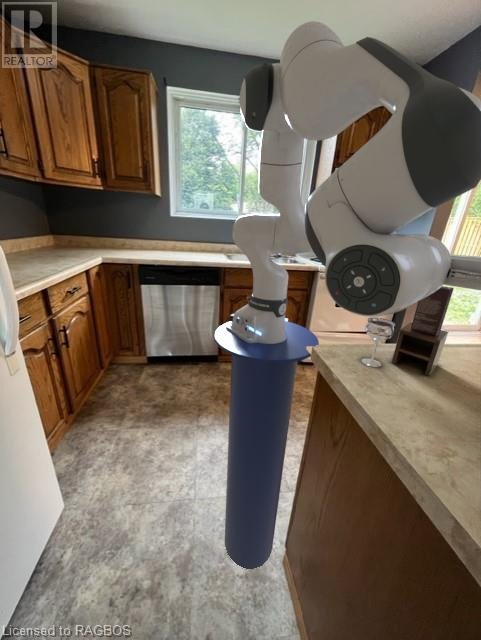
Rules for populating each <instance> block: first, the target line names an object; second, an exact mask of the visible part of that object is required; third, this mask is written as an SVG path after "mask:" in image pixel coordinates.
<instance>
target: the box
mask: <svg viewBox="0 0 481 640" xmlns="http://www.w3.org/2000/svg"><path fill="white" fill-rule="evenodd" d="M453 292H454V287H453V286H446V285H443V286H442V287H441V288H440V289H438V290H437V291H436V292H434V293H432V294H431V295H429V296H427V297H425V298H424V299H422V300H420V301H418V302H417V305H416V307H415V311H414V315H413V319H412V321H411V323H412V325H411V329H413V330H417V331H421V332H425V333H428V334H432V335H435V336H437V335H438V334H439V333H440V331H441V330H442V328H443V323H444V321H445V318H446V314H447V312H448V309H449V305H450V301H451V298H452V295H453Z"/></svg>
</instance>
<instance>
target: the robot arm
mask: <svg viewBox="0 0 481 640" xmlns="http://www.w3.org/2000/svg"><path fill="white" fill-rule="evenodd" d="M379 107H384V108H385V109H387V110H388V112H390V113H391V117H390V118H389V119H388V120H387V122H386V123H385V124H384V125H383V126H382V127H381V128H380V130H379V131H378V132H376V133H375V134H374V135H373V136H372V137H371V138H370V139H369V140H368V141H367V142H365V143H364V144H363V146H361V147H360V148H359V149H358V150H356V152H355V153H354V154H353V155H352V156H350V157H349V158H348V159H347V160H346V161H345V162H344V163H343V164H342V165H341V166H339V167H338V168H337V169H336V170H334V171H333V172H332V173H331V174H330V175H329V176H328V177H327V178H326V179H325V180H324V181H323V182H322V183H320V185H318V187H316V188H315V189H314V190H313V192H311V193H310V194H309V196H307V199H306V202H305V206H304V205H303V202H302V199H301V177H302V167H303V159H304V149H305V148H304V145H305V140H308V141H316V142H317V141H324V140H325V141H326V140H328V139H332V138H333V137H336V136H337V135H339V134H341V133H342V132H343V131H345V130H347V128H349V127H351V125H353V124H354V123H355V122H356V121H357V120H359V119H360V118H362V117H363V116H365V115H366V114H368V113H369V112H371V111H373V110H375V109H376V108H379ZM239 110H240V114H241V117H242V120H243V124H244V126H246V128H247V129H249V130H251V131H254V132H258V133H261V137H260V146H259V155H258V156H259V158H258V181H257V182H258V184H257V191H258V194H259V195H260V197H261V198H262V200H263V201H265V202H267V204H270V205H272V206H273V207H274V208H276V210H277V212H278V214H266V213H265V214H264V213H251V214H245V215H240V216H238V218H237V219H236V220H235V222H234V223H233V226H232V230H231V231H232V234H231V235H232V240H233V243H234V244H235V246H236V247H237V248H238V249H239V250H240V251H241V252H242V253H243V254H244V255H245V256H246V258H247V259H248V261H249V263H250V266H251V271H252V283H253V284H252V293H251V294H249V295H246V298H245V299H246V300H248V302H247V304H246V305H244V306H242V307H241V308H239V309H238V310H236V311H235V312H234V313H231V314H230V315H229V322H230V321H231V322H230V323H229V324H227V325H226V329H228V330H229V331H230V332H232V333H233V334H235V335H236V336H238V337H239V338H241V339H242V340H244V341H245V342H247V343H263V344H276V343H281V342H283V341H285V340H286V339H287V335H286V328H285V321H287V322H289V318H286V312H287V307H288V285H289V277H290V276H289V273H288V271H287V270H286V269H285V268H284V267H283V266H282V265H280V264H279V263H276V262H275V261H274V260H273V259H272V258H271V254H273V253H274V254H288V255H298V254H304V253H310V252H311V251H312V252H313V253H314V255H315V257H316V258H317V259H318V260H319V262H320V263H321V264H322V266H324V283H325V287H326V290H327V292H328V294H329V296H330V298H331V299H332V300H333V301H334V302H335V304H337V305H338V306H339V307H340V308H342V309H343V310H344V311H347V312H349V313H351V314H354V315H357V316H361V317H368V318H376V317H383V316H389V315H392V314H395V313H398V312H401V311H403V310H406V309H408V308H410V307H411V306H413V305H415V304H416V303H418V301H420V300H422V299H424V298H425V297H427V296H429V295H431V294H432V293H434V292H436V291H437V290H438V289H440V288H441V287H442V286H448V287H456V288H462V289H469V290H475V291H481V256H475V255H465V254H453V253H450V251H449V249H448V248H447V246H446V245H445V244H444V243H443V242H442V241H441V240H439V239H437V238H436V237H433V236H431V235H427V234H417V233H413V234H412V233H407V234H402V233H401V234H400V233H398V232H396V231H398V230H400V229H401V228H403V227H404V226H406V225H407V224H409V223H411V222H413V221H414V220H416V219H418V218H419V217H421V216H423V215H424V214H426V213H427V212H429V211H431V210H432V209H435V208H438V207H440V206H442V205H444V204H446V203H448V202H450V201H452V200H454V199H456V198H458V197H459V196H462V195H463V194H466V193H467V192H470V191H472V190H473V189H476V187H478V185H479V183H480V181H481V99H480V98H478V96H476V95H475V94H473V93H472V92H470V91H468V90H466V89H464V88H462V87H458V85H456V84H454V83H453V82H450V81H448V80H445V79H443V78H440V77H437V76H435V75H434V74H432V73H431V72H429V71H428V70H426V69H425V68H423V67H422V66H420V65H418V64H417V63H416V62H415V61H413V60H411V59H410V58H408V57H407V56H406V55H404V54H403V53H401V52H400V51H398V50H396V49H395V48H394V47H392V46H390V45H389V44H387V43H385V42H383V41H381V40H379V39H377V38H375V37H371V36H366V37H363V38H362V39H359V40H357V41H355V43H352V44H349V45H345V44H344V43H343V42H342V39H341V38H340V37H339V35H337V34H336V32H335V31H334V30H333V29H331V28H330V27H329V26H328V25H326V24H325V23H323V22H320V21H316V20H313V21H312V20H311V21H306V22H304V23H302V24H300V25H299V26H298V27H296V28H295V29H294V30H293V31H292V32H291V33H290V34H289V36H288V38H287V40H286V41H285V43H284V45H283V48H282V51H281V54H280V59H279V62H277V63H270V62H268V60H265V61H262V63H260V64H258V65H255V66H253V67H251V68H250V69H249V70H248V71H247V72H246V73H245V74H244V76H243V81H242V83H241V87H240V91H239Z"/></svg>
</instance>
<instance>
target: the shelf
mask: <svg viewBox="0 0 481 640" xmlns="http://www.w3.org/2000/svg"><path fill="white" fill-rule="evenodd" d="M411 325H412V321H411V322H409V323H407V324H406V325H405V326H403V327H402V328H401V329H399V333H398V337H397V340H396V344H395V348H394V352H393V355H392V359H391V361H390V363H391V364H393V365H396V364H397V363H398V362H399V361H400V360H401V359H402V358H403V357H404V356H406V357H409V358H412V359H414V360H418V361H421V362H423V363H426V364H427V365H426V368H425V372H424V376H427V377H430V376H431V375H432V373H433V372H434V370H435V369H436V368H437V366H438V364H439V361H440V358H441V355H442V352H443V349H444V346H445V343H446V340H447V337H448V335H449V331H446V330H442V329H441V331H440V333H439V334H438V335H437V336H435V335H432V334H428V333H425V332H421V331H417V330H413V329H411Z"/></svg>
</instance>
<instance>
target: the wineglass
mask: <svg viewBox="0 0 481 640" xmlns="http://www.w3.org/2000/svg"><path fill="white" fill-rule="evenodd" d="M396 325H397V324H396V323H395V322H394V321H392V320H390V319H387V318H382V317H368V318H367V323H366V324H365V333H366V335H367V336H368V337H369V338H370V339H372V340H373V342H374V344H373V349H372V354H371V358H363V359H361V363H362V364H364V365H366V366H369V367H370V368H371V367H372V368H380V367H382V363H381V362H380V361H378V360H376V359H374V358H375V354H376V351H377V348H378V345H379V343H380V342H385V341H387V340H389V339H391V338H392V337H393V336H394V334H395V328H394V327H395V326H396Z"/></svg>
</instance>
